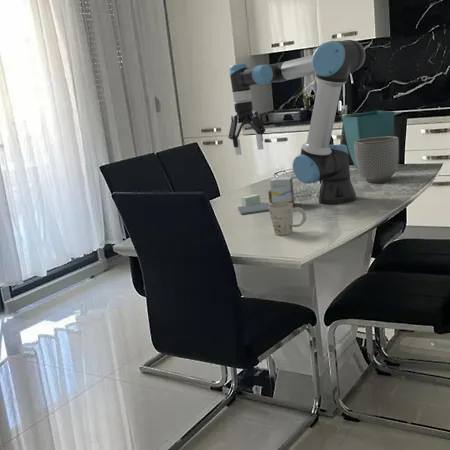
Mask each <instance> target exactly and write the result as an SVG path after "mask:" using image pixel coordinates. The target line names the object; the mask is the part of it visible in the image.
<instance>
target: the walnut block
mask: <svg viewBox="0 0 450 450" xmlns="http://www.w3.org/2000/svg"><path fill="white" fill-rule="evenodd" d="M268 200H269V202H268V203H269V204H272V195H271V189H270V190H268Z"/></svg>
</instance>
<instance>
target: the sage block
mask: <svg viewBox="0 0 450 450" xmlns="http://www.w3.org/2000/svg"><path fill="white" fill-rule="evenodd" d="M240 201H241V207H242V206H249V205H256V204H261V198H260V194H257V193H253V194H250V195H246V196H241V197H240Z"/></svg>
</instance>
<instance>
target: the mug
mask: <svg viewBox="0 0 450 450" xmlns="http://www.w3.org/2000/svg"><path fill="white" fill-rule="evenodd" d="M294 212H299V213H301V215H302V219H301V221H300V223H298V224H297V223H296V224H293V221H294V220H293V219H294V218H293V216H294V214H293V213H294ZM268 213H269V215H270V219H271V223H272V224H271V225H272V228H273V231H274V235H277V236H286V235H291V234H292V233H293V228H298V227H301V226H303V225H304V224H305V222H306V220H307V213H306V211H305V210H304V209H303V208H302V207H297V206H296V207H294V205H293V203H291V202H280V203H274V204H272V203H270V204H269V211H268Z"/></svg>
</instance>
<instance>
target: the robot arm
mask: <svg viewBox="0 0 450 450" xmlns="http://www.w3.org/2000/svg"><path fill="white" fill-rule="evenodd" d="M365 60H366V50H365V48H364V46H363V45H362V43H361V42H359V41H357V40H354V39H346V40H345V39H344V40H329V41H327V42H322V43H321V44H320V45H319V46H317V48H316V49H315V50H314V51H313V54H312V55H306V56H304V57H303V56H302V57H300V58H295V59H290V60H287V61H283V62H278V63H272V64H257V65H255V66H249V67H248V65H247V63H238V64H232V65H230V66H229V78H230V84H231V90H232V97H233V102H234V104H233V105H234V111H235V113H236V114H233V115H231V117H230V118H231V122H230V128H229V132H228V139H230V141H232V143H233V148H234V152H235V156H240V155H242V147H241V140H240V139H239V137H240V134H241V131H242V129H243V127H244V126H245V125H247V124H248V125H249V126H250V127H252V129H253V130H254V131H255V133H256V134H255V139H256V146H257V150H258V151H259V150H264V142H263V141H264V136H263V135H264V134H265V132H266V128H265V127H264V125H263V123H262V120H261V119H260V116H259V113H258V112H259V111H257V110H255V111H253V108H254V107H253V102H252V101H251V100H252V93H251V92H252V91H251V87H252V86H258V85H259V86H263V85H266V84H272V83H283V82H286V81H289V80H295V79H299V78H300V79H301V78H303V77H308V76H309V77H310V76H313V75H315V76H314V77H315V79H316V80H317V87H316V93H315V98H314V104H313V106H312V107H313V108H312V114H311V118H310V122H309V123H310V124H309V129H308V135H307V137H306V138H307V139H306V142H305V143H304V144H302V145H301V149H300V154H298V155H297V156H295V158H294V159H293V161H292V171H293V174H294V175H295V177H296V179H298V181H300V182H301V183H303V184H305V185H306V184H307V185H309V184H315V183H318V182H320V181H321V185H320V189H319V192H318V193H319V194H318V203H320V204H324V205H340V204H345V203H351V202H354V201H356V200H357V193H356V191H355V188H354V186H353V184H352V181H351V172H350V171H351V170H350V163H349V161H350V159H349V156H350V153H349V149H348V146H347V144H330V142H331V138H332V133H333V128H334V125H335V119H336V113H337V109H338V104H339V101H340V95H341V90H342V86H343V85H345V84H346V83H347V82H348V78H349V73H353V72H356V71H358V70H359V69H360V68H361V67H363V65H364V63H365Z"/></svg>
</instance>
